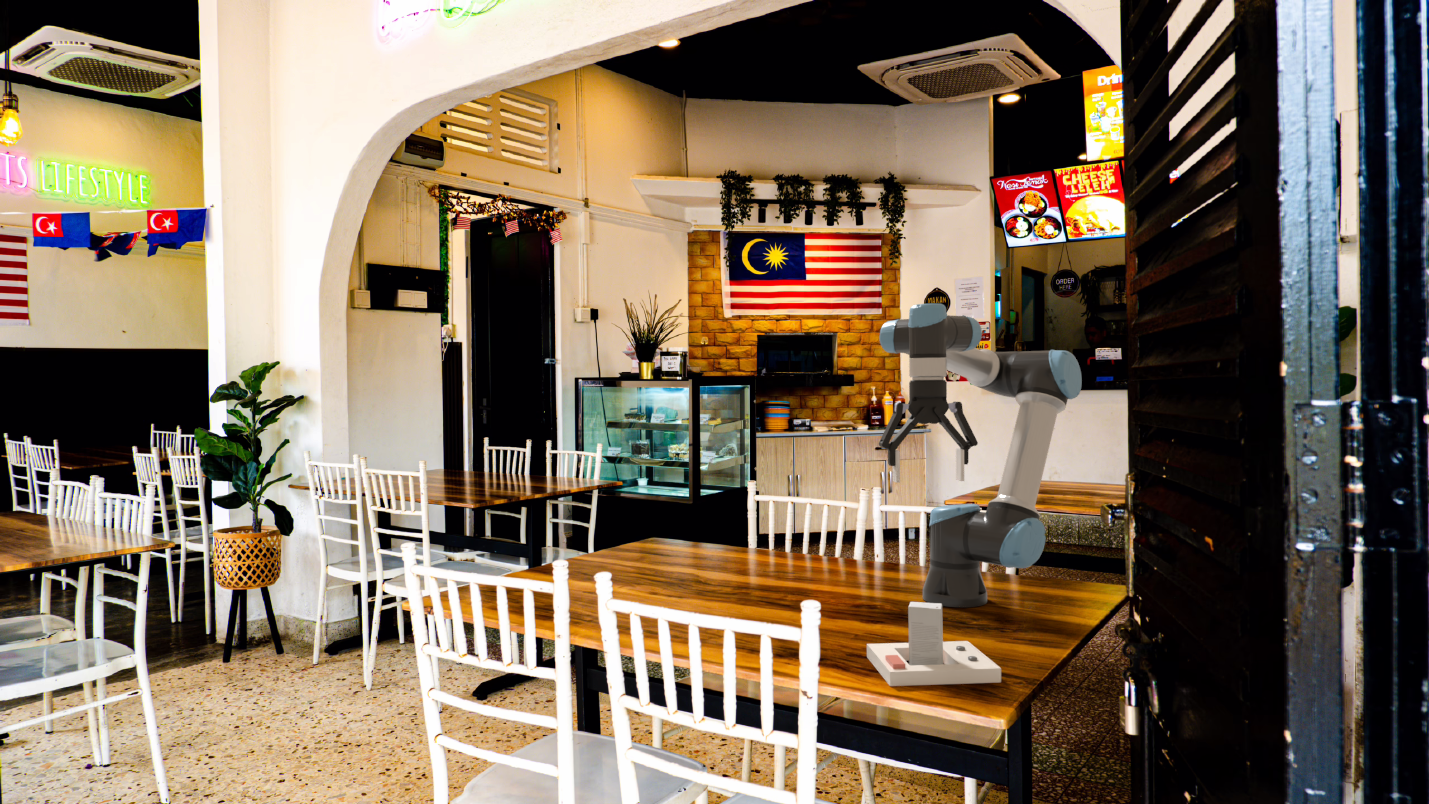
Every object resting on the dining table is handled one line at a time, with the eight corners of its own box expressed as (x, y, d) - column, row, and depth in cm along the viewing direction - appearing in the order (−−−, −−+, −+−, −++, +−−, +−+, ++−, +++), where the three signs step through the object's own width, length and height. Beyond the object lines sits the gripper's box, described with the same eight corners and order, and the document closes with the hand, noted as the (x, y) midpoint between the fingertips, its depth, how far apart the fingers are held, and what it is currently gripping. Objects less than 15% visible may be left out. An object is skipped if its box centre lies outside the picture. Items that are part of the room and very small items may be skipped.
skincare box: (943, 667, 159) (943, 603, 159) (942, 674, 155) (942, 609, 155) (909, 664, 161) (909, 600, 160) (908, 671, 157) (907, 606, 156)
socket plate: (967, 653, 166) (967, 636, 166) (1001, 682, 151) (1001, 663, 150) (866, 656, 165) (866, 639, 165) (890, 686, 149) (889, 667, 149)
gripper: (979, 378, 181) (979, 477, 182) (864, 379, 179) (864, 480, 180) (993, 378, 174) (993, 481, 174) (873, 379, 172) (874, 484, 172)
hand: (928, 481), depth 177 cm, fingers open, 13 cm apart
